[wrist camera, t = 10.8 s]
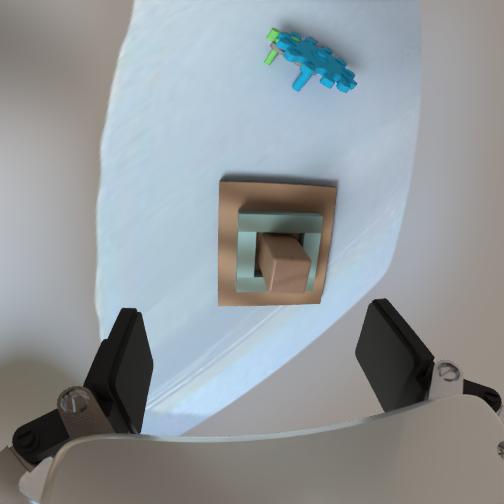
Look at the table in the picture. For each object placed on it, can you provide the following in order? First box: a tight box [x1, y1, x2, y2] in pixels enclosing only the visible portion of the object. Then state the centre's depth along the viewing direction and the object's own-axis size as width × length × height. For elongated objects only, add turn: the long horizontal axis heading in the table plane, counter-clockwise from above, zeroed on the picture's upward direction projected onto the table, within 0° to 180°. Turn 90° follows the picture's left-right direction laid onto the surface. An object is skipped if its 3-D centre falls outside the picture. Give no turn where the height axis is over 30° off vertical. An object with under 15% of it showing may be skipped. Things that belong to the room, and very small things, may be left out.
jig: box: [218, 181, 337, 306], centre depth 35 cm, size 16×14×3 cm
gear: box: [265, 28, 357, 93], centre depth 27 cm, size 11×6×10 cm
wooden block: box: [258, 232, 312, 294], centre depth 31 cm, size 4×4×8 cm
